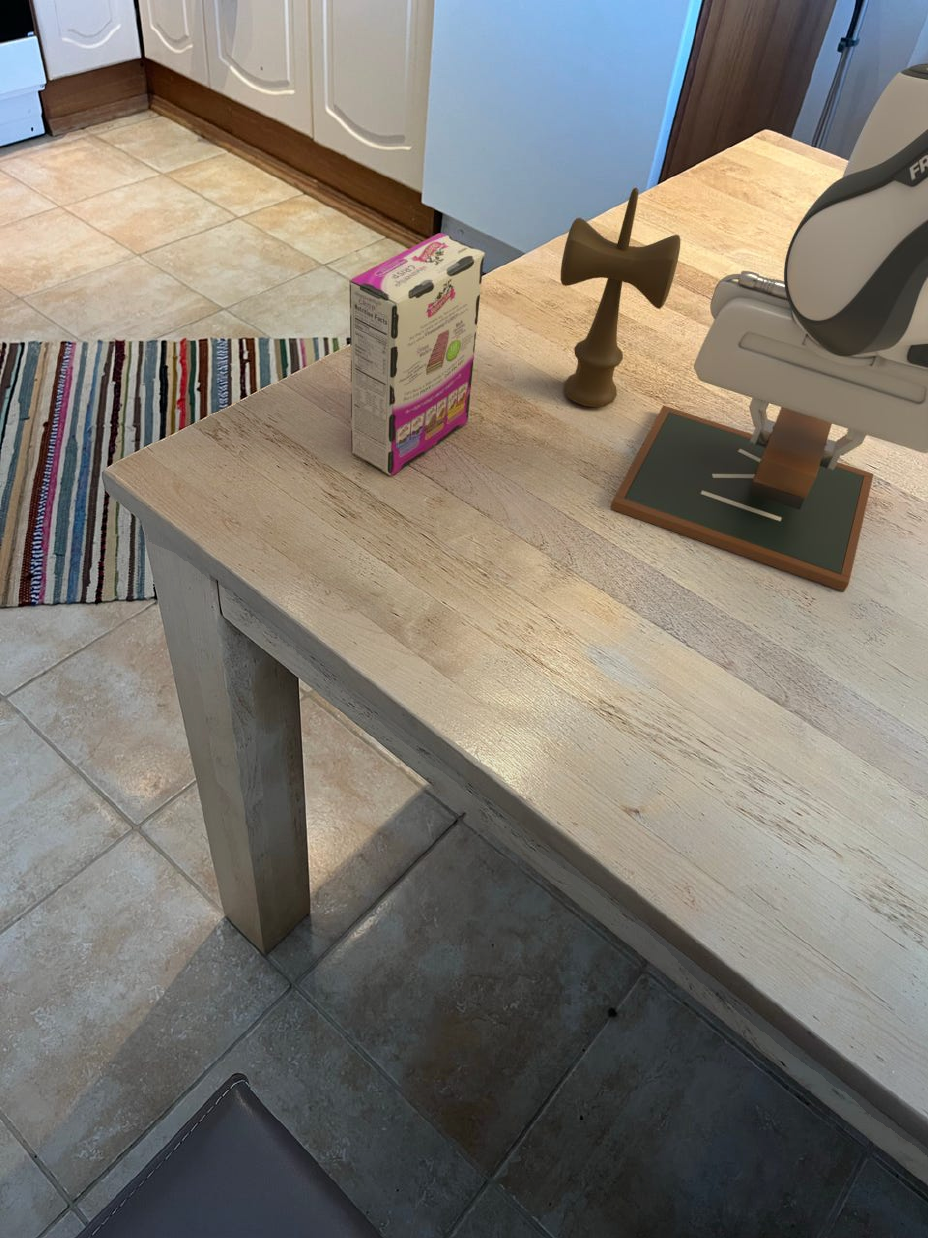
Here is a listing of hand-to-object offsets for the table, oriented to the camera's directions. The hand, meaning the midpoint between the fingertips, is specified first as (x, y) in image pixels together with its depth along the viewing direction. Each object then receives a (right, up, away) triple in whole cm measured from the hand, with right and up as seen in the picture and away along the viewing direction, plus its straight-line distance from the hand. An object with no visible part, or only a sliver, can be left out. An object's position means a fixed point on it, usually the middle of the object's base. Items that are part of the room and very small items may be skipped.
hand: (792, 452), depth 80 cm
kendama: (-16, +7, +11) cm, 21 cm away
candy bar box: (-33, +2, +4) cm, 33 cm away
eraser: (0, -1, +1) cm, 2 cm away
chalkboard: (-3, -3, +3) cm, 5 cm away
